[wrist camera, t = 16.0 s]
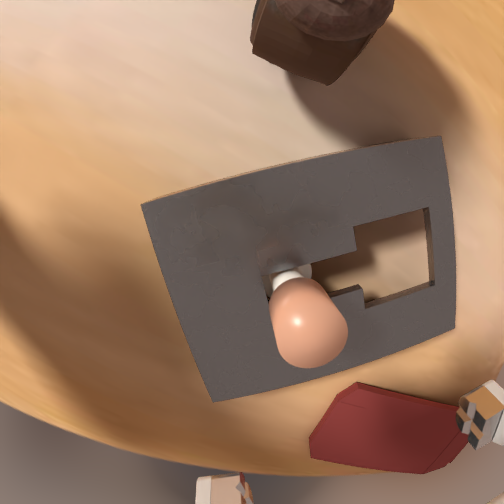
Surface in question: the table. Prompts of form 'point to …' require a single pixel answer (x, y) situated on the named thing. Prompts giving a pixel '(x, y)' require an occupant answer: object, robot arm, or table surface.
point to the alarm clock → (315, 34)
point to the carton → (387, 431)
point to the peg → (304, 318)
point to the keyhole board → (300, 258)
